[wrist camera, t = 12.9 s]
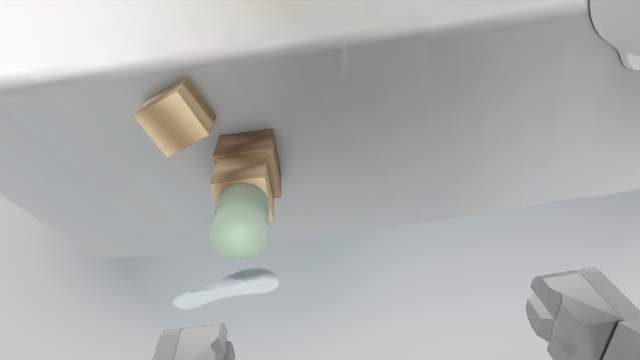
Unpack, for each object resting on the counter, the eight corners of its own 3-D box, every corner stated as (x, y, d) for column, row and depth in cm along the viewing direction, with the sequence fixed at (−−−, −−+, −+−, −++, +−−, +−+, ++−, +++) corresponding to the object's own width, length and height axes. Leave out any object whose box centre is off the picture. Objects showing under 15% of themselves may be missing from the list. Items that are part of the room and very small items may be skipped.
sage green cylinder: (264, 179, 36) (261, 211, 31) (272, 221, 38) (271, 256, 34) (212, 186, 36) (202, 219, 31) (223, 227, 38) (216, 263, 34)
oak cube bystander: (187, 76, 40) (177, 91, 36) (216, 116, 43) (209, 135, 38) (148, 98, 41) (133, 116, 37) (178, 136, 44) (167, 157, 39)
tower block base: (272, 128, 44) (271, 148, 40) (280, 174, 47) (280, 197, 43) (219, 135, 44) (213, 156, 40) (231, 181, 47) (226, 204, 43)
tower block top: (266, 152, 40) (264, 177, 36) (273, 193, 43) (273, 221, 38) (217, 158, 40) (209, 184, 36) (228, 199, 42) (222, 227, 38)
